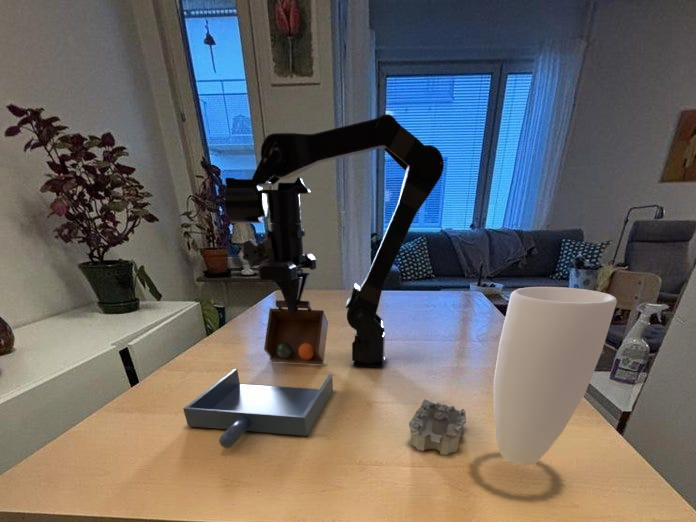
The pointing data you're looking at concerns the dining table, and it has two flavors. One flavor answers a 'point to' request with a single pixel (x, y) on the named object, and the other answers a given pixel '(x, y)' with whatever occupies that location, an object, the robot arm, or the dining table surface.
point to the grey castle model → (437, 427)
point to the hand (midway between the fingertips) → (293, 312)
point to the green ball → (284, 350)
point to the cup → (545, 365)
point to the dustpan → (257, 408)
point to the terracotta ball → (306, 351)
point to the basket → (296, 332)
